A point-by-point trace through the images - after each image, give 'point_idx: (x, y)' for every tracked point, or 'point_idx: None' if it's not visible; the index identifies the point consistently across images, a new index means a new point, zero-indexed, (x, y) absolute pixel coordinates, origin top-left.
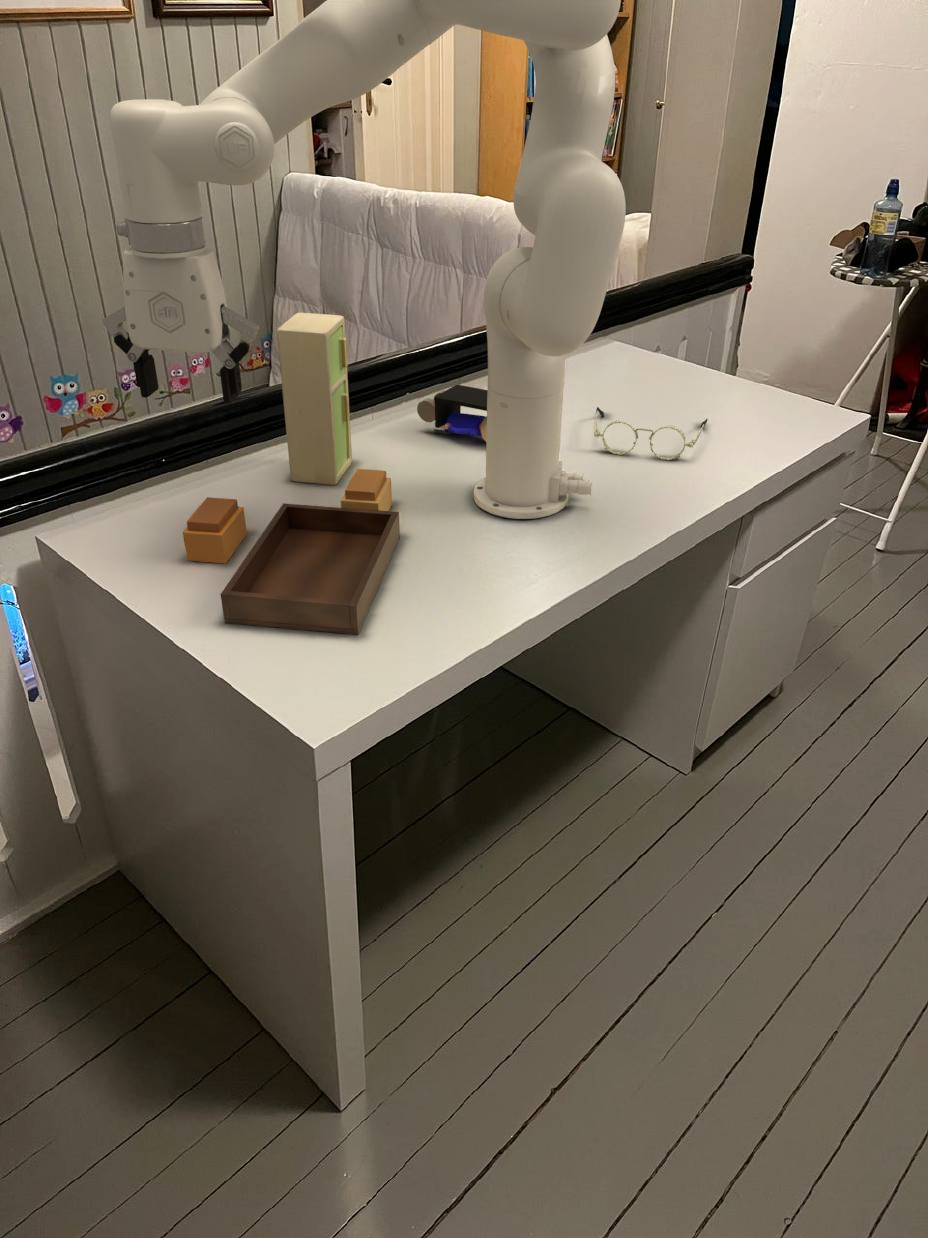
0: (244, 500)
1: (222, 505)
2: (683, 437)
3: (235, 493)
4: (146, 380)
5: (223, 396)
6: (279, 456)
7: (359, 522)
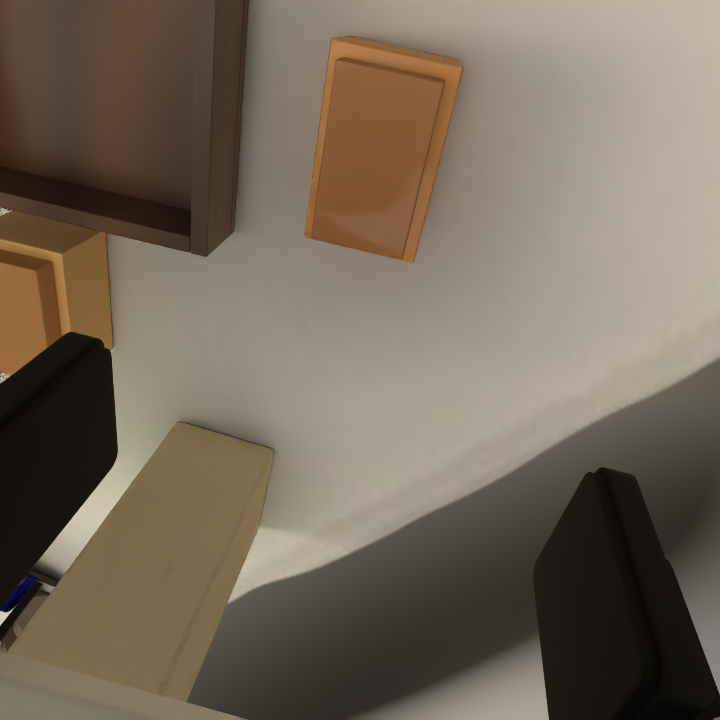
0: (360, 379)
1: (345, 197)
2: None
3: (386, 413)
4: (603, 560)
5: (85, 361)
6: (321, 545)
7: (20, 183)
